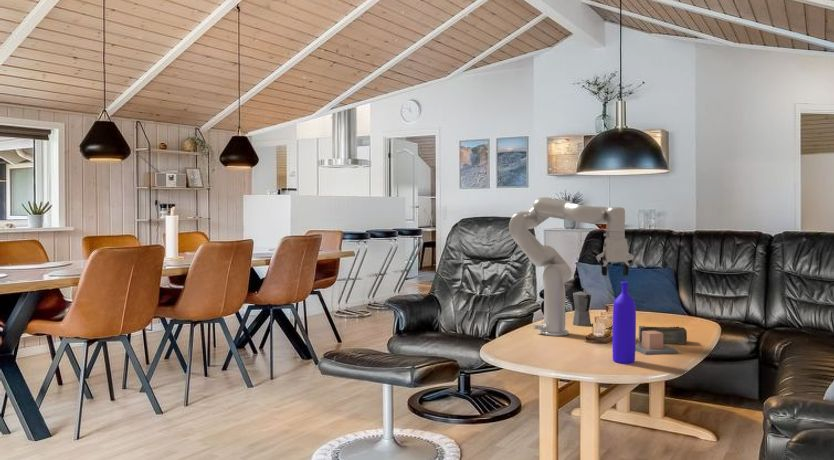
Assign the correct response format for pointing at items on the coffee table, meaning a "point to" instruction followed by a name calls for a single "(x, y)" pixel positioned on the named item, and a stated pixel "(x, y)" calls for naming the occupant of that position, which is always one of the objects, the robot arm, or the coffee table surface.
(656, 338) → the cube
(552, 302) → the robot arm
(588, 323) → the coffeepot
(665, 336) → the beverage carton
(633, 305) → the bottle
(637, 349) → the coaster
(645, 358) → the coffee table surface
